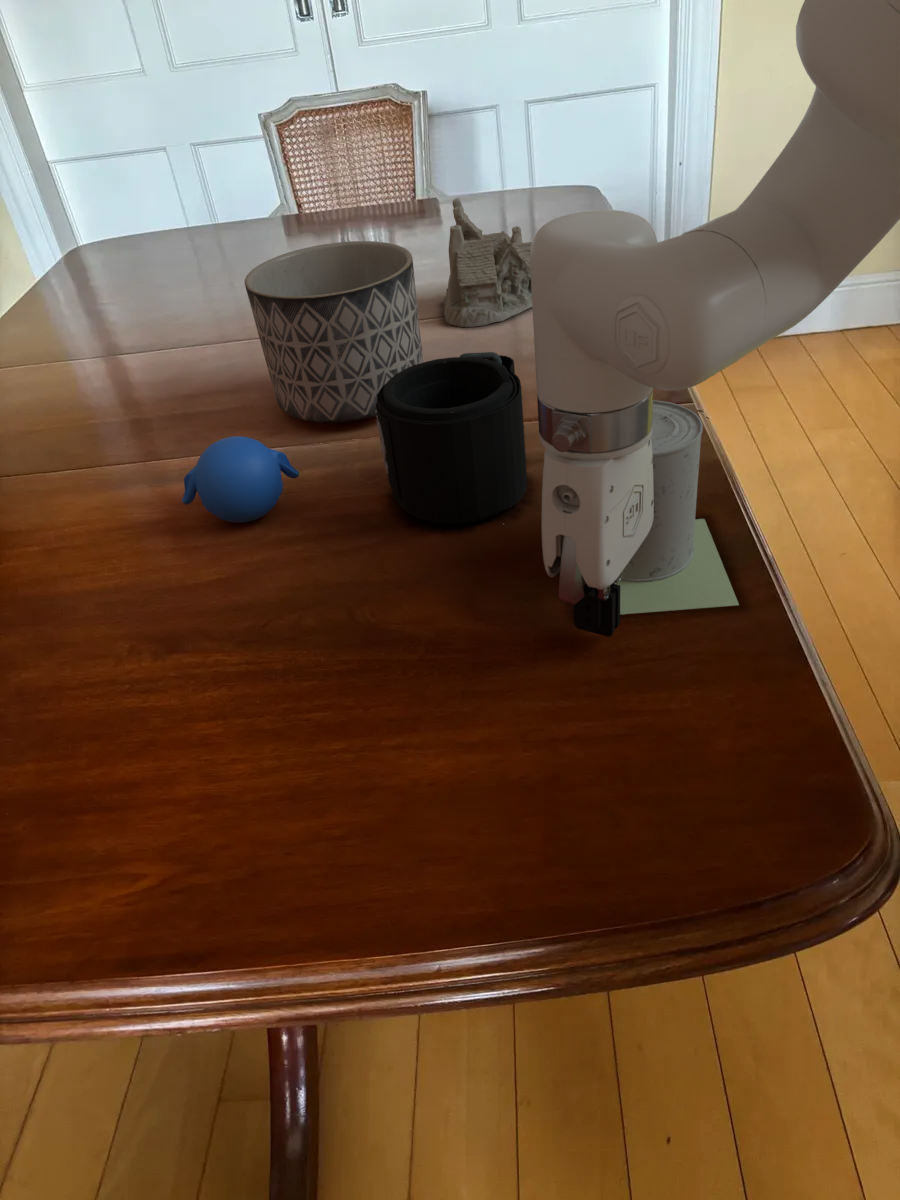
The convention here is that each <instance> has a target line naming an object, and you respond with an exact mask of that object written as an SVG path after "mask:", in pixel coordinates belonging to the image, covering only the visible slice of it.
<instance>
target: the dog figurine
mask: <svg viewBox="0 0 900 1200" xmlns="http://www.w3.org/2000/svg"><path fill="white" fill-rule="evenodd" d="M282 473H283V474H284V475H285V476H286V477H288V478H290V479H299V476H300V472H299V470H297V469H296V468H295V467H294V466H293V465H292V464H291V462H290V461H289V458H288V456H287V455H286V454H285V453H284V452H282V451H280V450H276V449H273V448H270V447H267V445H265V444H264V443H262V442H261V441H259V440H257V439H255V438H252V437H248V436H242V435H241V436H238V435H237V436H236V435H235V436H229V437H228V436H227V437H224V438H221V439H219V440H216V441H215V442H213V443H212V444H210V445H209V446H208V447H207V448H205V449H204V451H202V453H201V455H199V458H198V459H197V461H196V464H195V466H194V467H193V468H192V469H190V470H189V471H188V472H187V474H185V476H184V477H183V483H184V492H183V496H182V498H181V503H182V504H184V506H188V505H191V504H192V503H193V502H194V501H195V499H196V496H197V493H198V497H199V498H200V501H201V504H202V506H203V508H204V509H205V510H206V511H207V512H208V513H211V514H212V515H213V516H214V517H216V518H218V519H220V520H222V521H225V522H229V523H235V524H236V523H237V524H238V523H239V524H242V523H249V522H254V521H256V520H259V519H260V518H263V517H264V516H266V515H267V514H268V513H270V512H271V511H272V510H273V509H274V507H276V505H277V503H278V501H279V499H280V497H281V495H282V494H283V489H284V483H283V477H282Z"/></svg>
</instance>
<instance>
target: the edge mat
mask: <svg viewBox="0 0 900 1200" xmlns="http://www.w3.org/2000/svg"><path fill="white" fill-rule="evenodd" d="M693 547H694V554H693V558H692V560H691V562H690V564H689V565H688V566H687V567H686V568H685V569H684V570H682V571H681V572H679V573H677V574H675V575H674V576H671V577H668V578H665V579H662V580H656V581H651V582H631V581H623V580H620V581H619V583H615V582H614V584H617V585H620V616H621V615H622V616H624V615H635V614H648V613H649V614H650V613H659V612H660V613H661V612H673V611H674V612H675V611H686V610H687V611H688V610H699V609H712V608H721V607H722V608H723V607H738V606H740V604H739V601H738V599H737V596H736V594H735V591H734V589H733V586H732V583H731V580H730V579H729V576H728V574H727V571H726V569H725V567H724V564H723V561H722V559H721V556H720V553H719V551H718V549H717V547H716V544H715V542H714V539H713V536H712V534H711V532H710V529H709V527H708V524H707V522H706V519H705V518H698V519H696V518H695V529H694V543H693Z"/></svg>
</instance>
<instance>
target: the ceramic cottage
mask: <svg viewBox="0 0 900 1200" xmlns="http://www.w3.org/2000/svg"><path fill="white" fill-rule="evenodd" d="M452 207H453V209H452V213H453V218H454V221H455V225H451V226H450V228H449V239H448V261H449V263H448V264H449V276H448V283H447V288H446V293H445V296H444V297H443V298H442V300H443V304H444V305H443V312H444V314H443V316H444V321H445V322H446V323H447V324H449V325H451V326H455V327H459V328H461V327H462V328H473V327H482V326H486V325H491V324H492V323H493V324H494V323H498V322H503V321H505V320H508V319H510V318H511V317H513V316H516V315H518V314H520V313H523V312H525V311H526V310H528V309H530V308H532V290H531V271H530V249H531V244H532V241H528V242H527V241H526V242H523V236H522V229H521V227H520V226H518V225H516V226H513V227H512V228H511V233H512V234H511V236H509V234H507V233H506V232H505V231H504V230H502V231H500V232H493V233H489V234H483V230H482V229H481V228H478V227H477V226H476V224H475V223H474V222H472V221H471V220H470V219H471V218H469V216H468V215H467V213H465V209H464V206H463V204H462V200H461V199H460V197H457V198H454V199H452Z"/></svg>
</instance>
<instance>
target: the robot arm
mask: <svg viewBox="0 0 900 1200" xmlns="http://www.w3.org/2000/svg"><path fill="white" fill-rule="evenodd" d="M795 46H796V49H797V53H798V56H799V59H800V61H801V64H802V66H803V68H804V70H805V72H806V74H807V76H808V77H809V79H810V80H811V82H812V83H813V85H814V86H815V88H814V92H813V95H812V98H811V101H810V103H809V105H808V107H807V109H806V111H805V113H804V115H803V117H802V119H801V121H800V123H799V125H798V126H797V127H796V129H795V131H794V133H793V134H792V135H791V137H790V138H789V140H788V142H787V143H786V144H785V146H784V148H783V149H782V150H781V152H780V153H779V155H778V156H777V158H776V159H775V160H774V161H773V163H772V164H771V166H770V167H769V168H768V170H767V171H765V173H764V175H763V176H762V177H761V179H760V180H759V181H758V182H757V184H756V185H755V187H754V188H753V189H752V191H751V192H750V193H749V194H748V196H747V197H746V198H745V199H744V200H743V202H742V203H740V205H738V207H737V208H736V209H735V210H733V211H730V212H728V213H726V214H723V215H720V216H718V217H715V218H713V219H711V220H709V221H707V222H706V223H703V224H701V225H699V226H696V227H694V228H692V229H690V230H688V231H685V232H683V233H682V234H680V235H676V236H673V237H671V238H667V239H665V240H661V241H658V239H657V235H656V232H655V229H654V227H653V226H652V224H651V223H650V222H649V220H647V219H646V218H644V217H643V216H641V215H640V214H636V213H634V212H630V211H624V210H619V209H590V210H581V211H576V212H571V213H568V214H564V215H561V216H558V217H556V218H554V219H551V220H549V221H547V222H546V223H544V224H543V225H542V226H541V227H540V228H538V230H537V231H536V232H535V234H534V236H533V238H532V241H531V242H532V244H531V249H530V271H531V290H532V307H531V308H532V323H533V324H532V326H533V343H534V344H533V345H534V360H535V361H534V362H535V377H536V379H535V380H536V381H535V382H536V398H537V400H536V401H537V418H538V419H537V420H538V439H539V442H540V444H541V445H542V447H544V449H545V450H544V456H543V468H542V469H543V470H542V481H541V482H542V485H541V547H542V548H541V549H542V559H543V565H544V570H545V572H546V574H547V576H548V577H549V578H555V577H556V576H557V575H558V574H559V581H558V593H557V594H558V595H557V600H558V601H559V602H563V603H567V604H570V605H573V623H574V627H575V628H577V629H579V630H583V631H586V632H589V633H594V634H597V635H600V636H605V637H607V638H610V637H612V636H613V634H614V633H615V631H616V629H617V628H618V627H619V626H620V624H621V615H620V585H617V584H614V582H615V583H619V581H620V580H621V577H622V571H623V569H624V568H625V566H626V565H627V564H628V562H629V561H630V560H631V558H632V557H633V555H634V554H635V552H636V551H637V550H638V548H639V547H640V545H641V544H642V542H643V541H644V539H645V538H646V536H647V535H648V533H649V531H650V529H651V526H652V523H653V516H654V492H653V455H652V441H651V435H652V413H653V400H654V390H659V391H665V392H666V391H667V392H674V391H675V392H676V391H683V390H687V389H689V388H693V387H696V386H698V385H700V384H702V383H704V382H706V381H707V380H709V379H710V378H711V377H714V376H715V375H716V374H718V373H720V372H723V370H725V369H727V368H729V367H730V366H732V365H733V364H735V363H737V362H738V361H740V360H741V359H743V358H744V357H746V356H747V355H748V354H751V353H752V352H753V351H755V350H757V349H759V348H761V347H762V346H763V345H765V344H767V343H768V342H770V341H771V340H773V339H775V338H776V337H779V335H780V336H781V334H784V333H786V332H787V331H788V330H790V329H792V328H794V327H795V326H797V325H799V323H801V322H802V321H803V320H804V319H805V318H807V317H808V316H810V314H811V313H812V312H813V311H815V310H816V309H817V308H818V307H819V306H820V305H821V304H822V303H823V302H824V301H825V300H826V299H827V298H828V297H830V295H831V293H833V292H834V291H835V290H836V289H837V288H838V287H839V286H840V285H841V284H842V283H843V282H844V281H845V279H846V278H848V276H849V275H850V274H851V273H852V272H853V271H854V270H855V269H856V268H857V266H859V264H860V263H861V262H863V260H864V259H865V258H866V257H867V256H868V255H869V254H870V253H871V252H872V251H873V250H874V248H876V247H877V245H878V244H879V243H880V242H882V240H883V239H884V238H885V237H886V236H887V234H889V232H890V231H892V229H893V228H894V227H895V226H896V224H897V223H898V222H899V221H900V0H803V3H802V5H801V8H800V11H799V13H798V17H797V21H796V24H795Z"/></svg>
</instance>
